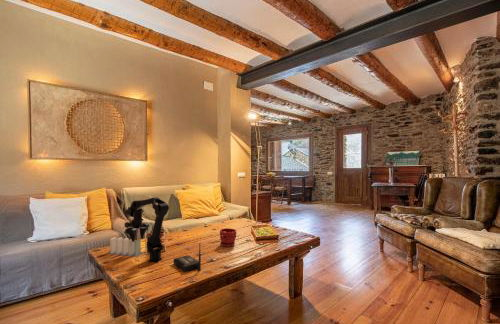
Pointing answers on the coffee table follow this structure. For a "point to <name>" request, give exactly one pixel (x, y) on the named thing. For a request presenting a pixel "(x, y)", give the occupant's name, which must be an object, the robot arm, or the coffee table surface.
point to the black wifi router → (188, 263)
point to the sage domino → (137, 247)
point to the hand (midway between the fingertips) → (137, 239)
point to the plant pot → (227, 237)
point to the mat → (124, 254)
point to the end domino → (113, 244)
